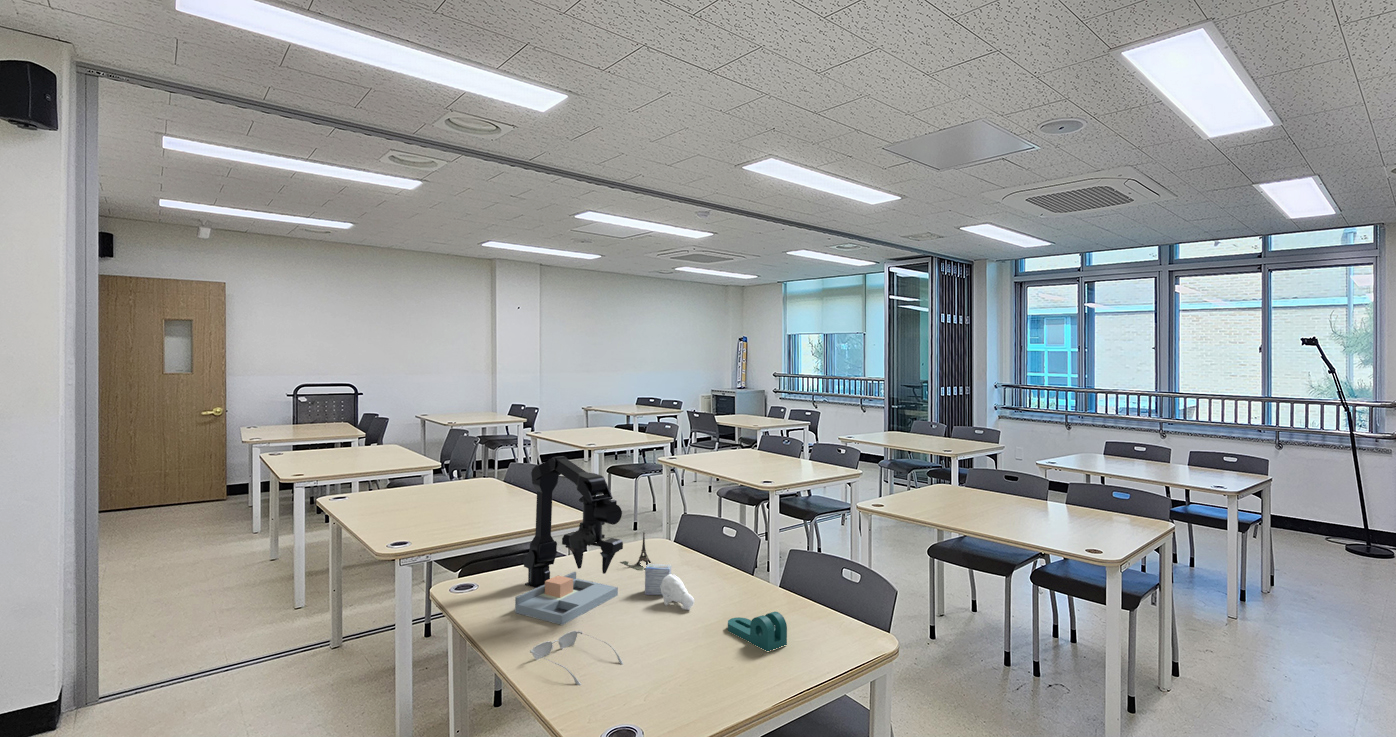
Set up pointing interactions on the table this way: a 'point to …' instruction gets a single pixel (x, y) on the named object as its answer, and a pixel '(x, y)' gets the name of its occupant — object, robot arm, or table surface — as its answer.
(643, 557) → the eiffel tower figurine
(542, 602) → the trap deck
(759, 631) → the bracket
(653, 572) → the medicine box
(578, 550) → the robot arm
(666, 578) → the white animal figurine
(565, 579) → the block
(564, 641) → the eyeglasses
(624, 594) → the table surface
